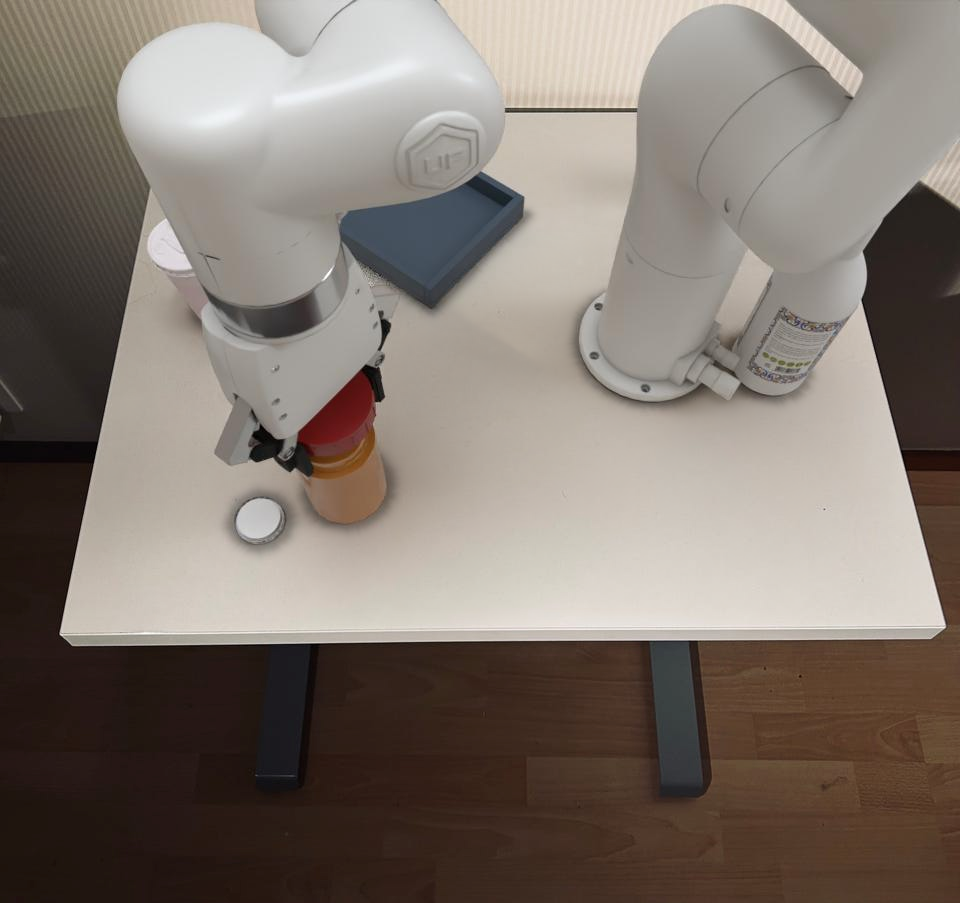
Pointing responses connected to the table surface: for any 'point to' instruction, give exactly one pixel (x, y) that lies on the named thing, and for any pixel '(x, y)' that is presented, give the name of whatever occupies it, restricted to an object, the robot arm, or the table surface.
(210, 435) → the table surface
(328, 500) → the jar
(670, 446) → the table surface
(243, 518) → the white grey disc
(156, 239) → the smoothie
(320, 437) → the lid
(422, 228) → the tray
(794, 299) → the bath foam
